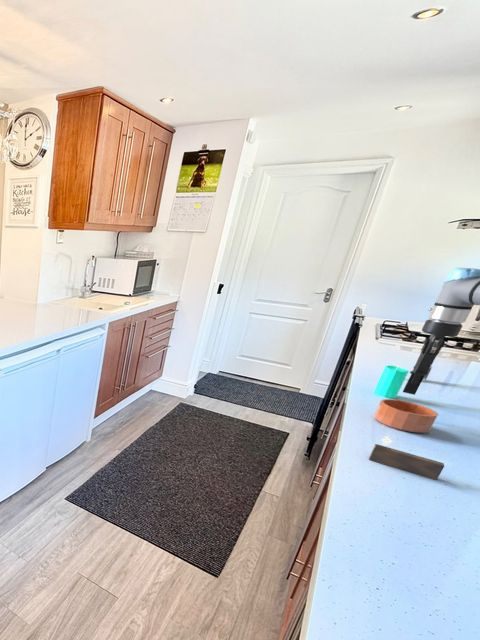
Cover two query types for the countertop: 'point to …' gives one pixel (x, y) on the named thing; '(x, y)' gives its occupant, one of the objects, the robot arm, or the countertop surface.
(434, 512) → the countertop surface
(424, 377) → the pill bottle
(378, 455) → the bar
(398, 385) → the candle
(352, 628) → the countertop surface
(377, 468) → the countertop surface
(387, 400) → the bowl
